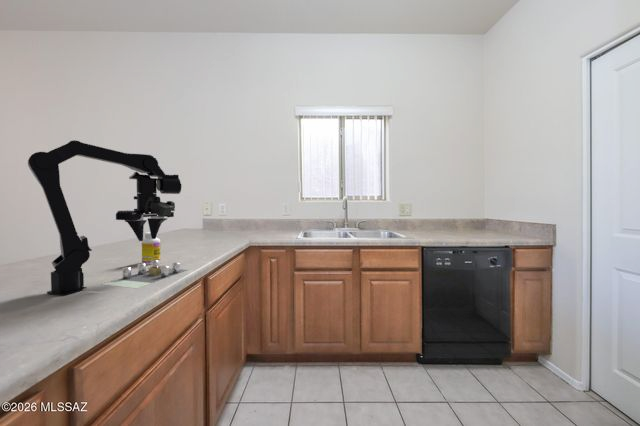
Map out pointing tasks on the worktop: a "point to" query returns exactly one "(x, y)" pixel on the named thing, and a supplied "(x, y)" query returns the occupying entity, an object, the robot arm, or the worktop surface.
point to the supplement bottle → (150, 249)
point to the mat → (140, 280)
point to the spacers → (142, 267)
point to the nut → (155, 271)
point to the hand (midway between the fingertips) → (147, 239)
